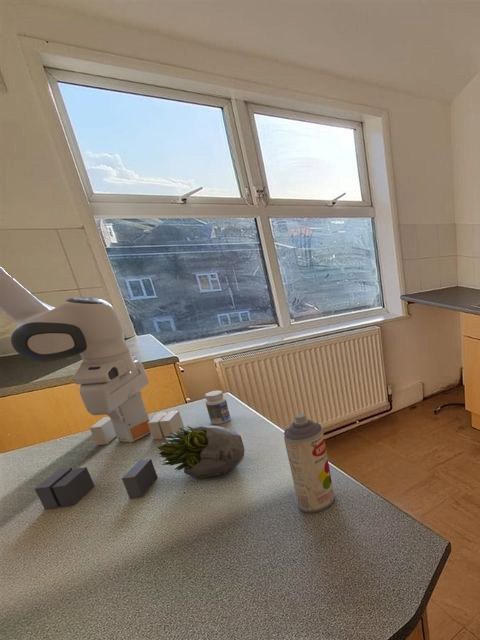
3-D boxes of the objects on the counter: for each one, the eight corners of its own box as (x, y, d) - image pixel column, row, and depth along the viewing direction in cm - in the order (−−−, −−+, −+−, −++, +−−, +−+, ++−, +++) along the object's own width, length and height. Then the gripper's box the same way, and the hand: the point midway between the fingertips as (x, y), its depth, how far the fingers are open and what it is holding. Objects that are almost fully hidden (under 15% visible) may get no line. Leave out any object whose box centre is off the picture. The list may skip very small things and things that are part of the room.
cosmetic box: (132, 443, 109) (116, 400, 104) (117, 441, 109) (101, 398, 105) (154, 431, 114) (140, 390, 110) (140, 430, 115) (126, 389, 110)
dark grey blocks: (44, 509, 85) (34, 488, 83) (67, 488, 91) (58, 468, 89) (142, 497, 89) (134, 476, 87) (158, 477, 95) (151, 458, 93)
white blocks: (96, 445, 107) (89, 427, 105) (110, 434, 113) (103, 417, 111) (174, 437, 112) (168, 420, 110) (184, 426, 117) (178, 410, 115)
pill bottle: (227, 423, 119) (220, 395, 116) (208, 425, 118) (200, 397, 115) (233, 415, 123) (226, 389, 120) (214, 417, 122) (207, 390, 119)
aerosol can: (329, 512, 86) (313, 423, 78) (293, 514, 85) (273, 424, 77) (338, 491, 92) (324, 407, 84) (305, 492, 91) (288, 408, 84)
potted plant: (246, 466, 94) (158, 474, 84) (235, 480, 103) (154, 489, 93) (243, 414, 98) (159, 416, 88) (233, 432, 106) (154, 435, 96)
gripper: (118, 352, 113) (135, 399, 118) (67, 380, 94) (89, 435, 100) (146, 350, 114) (162, 397, 119) (101, 378, 96) (122, 432, 101)
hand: (128, 415), depth 109 cm, fingers closed on cosmetic box, 7 cm apart
